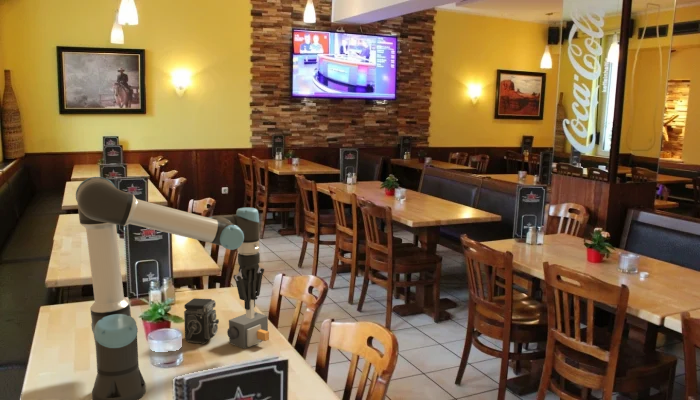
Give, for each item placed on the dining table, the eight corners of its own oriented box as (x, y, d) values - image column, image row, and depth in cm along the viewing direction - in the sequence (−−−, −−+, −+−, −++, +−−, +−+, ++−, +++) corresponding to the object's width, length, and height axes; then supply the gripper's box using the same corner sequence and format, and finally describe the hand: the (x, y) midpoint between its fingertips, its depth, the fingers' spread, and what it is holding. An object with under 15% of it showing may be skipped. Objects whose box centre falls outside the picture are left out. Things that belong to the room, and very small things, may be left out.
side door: (256, 349, 212) (256, 332, 211) (247, 346, 215) (246, 329, 214) (269, 343, 217) (268, 327, 216) (259, 340, 220) (259, 324, 219)
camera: (210, 346, 216) (209, 307, 213) (183, 344, 218) (182, 305, 215) (221, 336, 226) (221, 298, 223) (196, 333, 228) (195, 296, 226)
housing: (241, 350, 213) (241, 324, 212) (226, 344, 218) (225, 319, 216) (268, 338, 224) (267, 313, 222) (252, 333, 229) (252, 309, 227)
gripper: (242, 258, 198) (244, 325, 202) (269, 250, 209) (270, 314, 213) (227, 254, 203) (229, 320, 207) (254, 247, 213) (255, 309, 217)
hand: (250, 317), depth 210 cm, fingers closed
